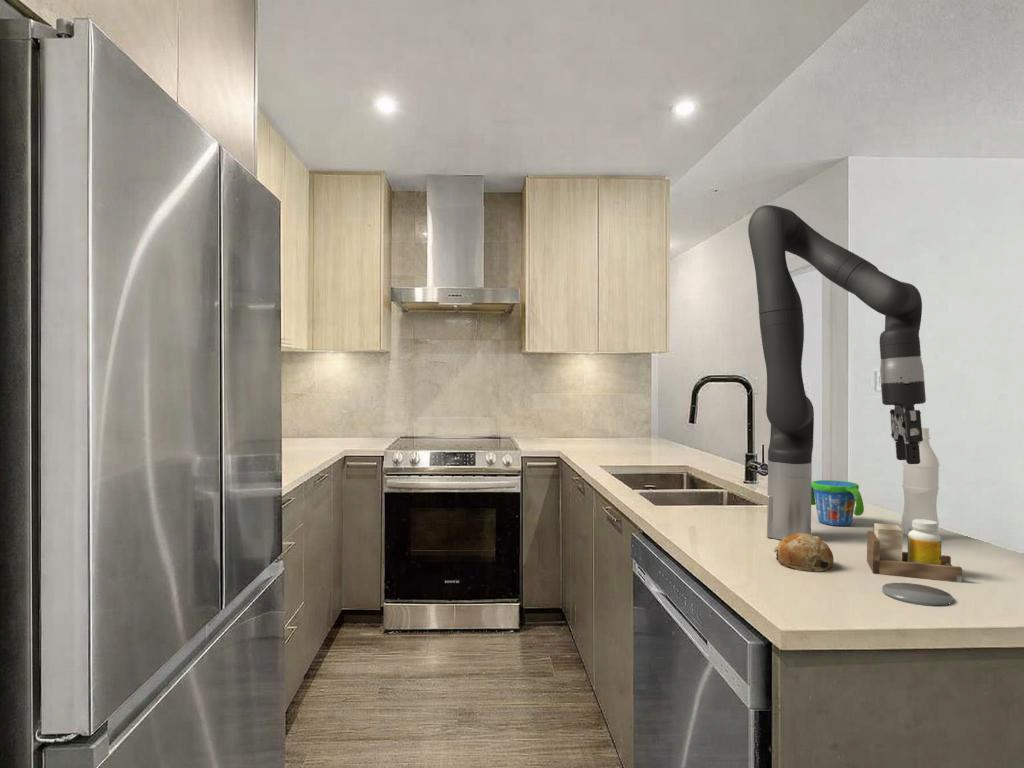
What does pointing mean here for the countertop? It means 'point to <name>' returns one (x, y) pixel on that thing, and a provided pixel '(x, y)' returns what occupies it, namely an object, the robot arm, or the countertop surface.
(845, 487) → the snack cup
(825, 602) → the countertop surface
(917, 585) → the coaster
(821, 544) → the bread roll
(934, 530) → the supplement bottle
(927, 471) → the water bottle
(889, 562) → the rack
